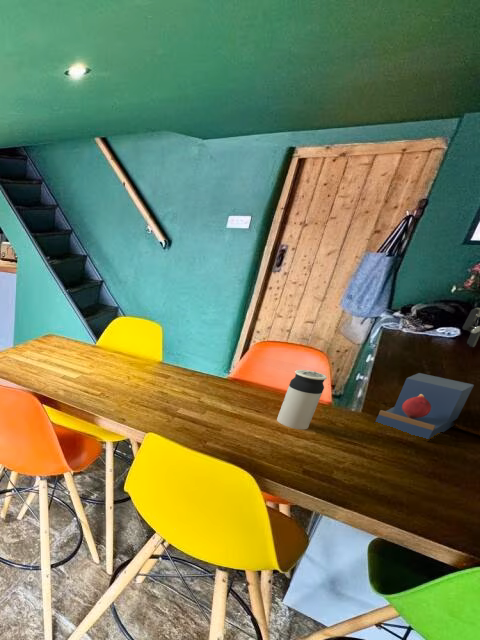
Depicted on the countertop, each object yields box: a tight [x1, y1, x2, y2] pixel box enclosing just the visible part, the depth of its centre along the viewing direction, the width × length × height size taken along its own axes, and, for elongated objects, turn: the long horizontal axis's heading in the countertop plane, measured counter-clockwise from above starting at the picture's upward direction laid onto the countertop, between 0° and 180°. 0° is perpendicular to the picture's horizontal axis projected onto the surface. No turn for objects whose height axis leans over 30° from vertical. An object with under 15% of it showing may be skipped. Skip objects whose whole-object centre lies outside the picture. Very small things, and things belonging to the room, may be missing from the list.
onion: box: [402, 394, 431, 419], centre depth 122 cm, size 6×6×8 cm
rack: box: [375, 372, 475, 439], centre depth 124 cm, size 22×12×14 cm, turn 118°
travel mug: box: [276, 369, 328, 430], centre depth 123 cm, size 8×8×18 cm
